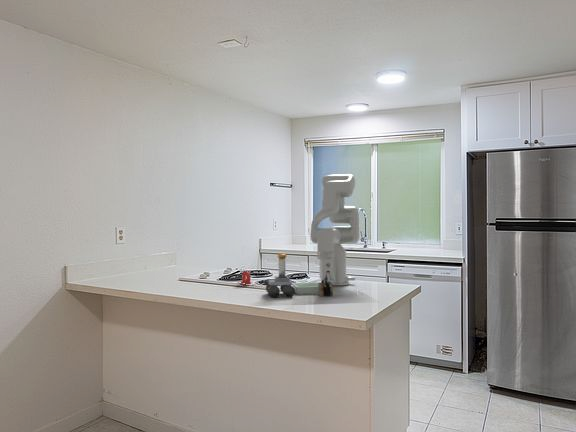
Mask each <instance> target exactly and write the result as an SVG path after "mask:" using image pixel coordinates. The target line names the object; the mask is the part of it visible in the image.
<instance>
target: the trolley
mask: <svg viewBox="0 0 576 432" xmlns="http://www.w3.org/2000/svg"><path fill="white" fill-rule="evenodd" d="M278 286H280V288H279V287H278ZM265 291H266V292H267V294H268V296H269V297H270V298H272V299H275V298H277V297H279V295H280V293H281V292H282V294H283V296H285V297H286V298H292V297H294V295H296V293H295V289H294V288H293V281H292V280H291V278H290V276H288V275H287V276H286V278H279V276H274V279H268V283H267V284H266V286H265Z"/></svg>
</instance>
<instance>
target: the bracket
mask: <svg viewBox="0 0 576 432" xmlns="http://www.w3.org/2000/svg"><path fill="white" fill-rule="evenodd" d="M250 273H251V272H249V270H244V271H242V274H241V275H242V278H241V281H239V282H241V283H245V284H251V283H252V282H251V278H250V276H251V274H250ZM246 277H247V278H246Z"/></svg>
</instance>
